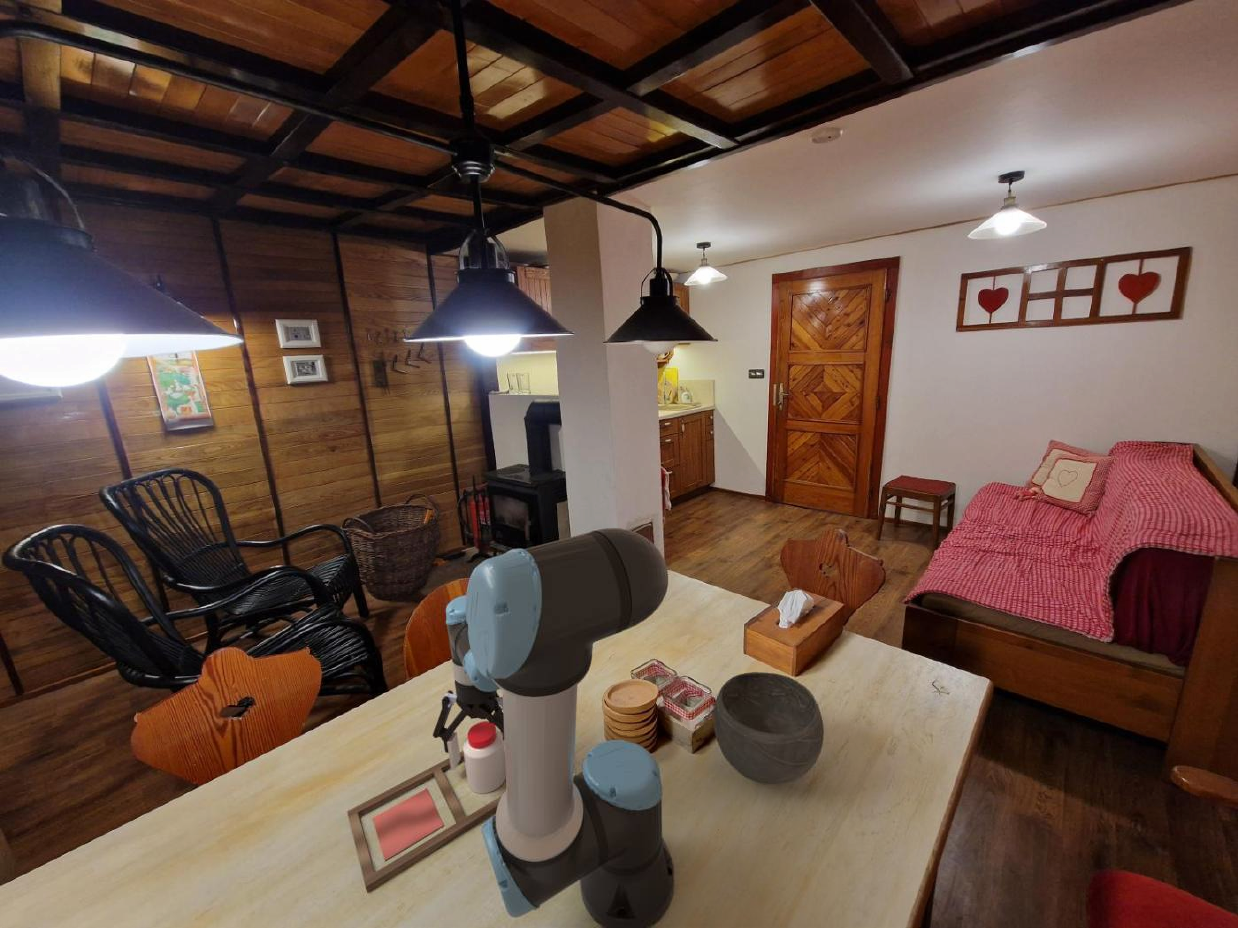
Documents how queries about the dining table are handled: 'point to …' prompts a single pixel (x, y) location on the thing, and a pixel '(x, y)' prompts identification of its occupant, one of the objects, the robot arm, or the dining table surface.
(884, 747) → the dining table surface
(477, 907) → the dining table surface
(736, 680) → the bowl
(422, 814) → the divided wooden frame
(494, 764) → the pill bottle
